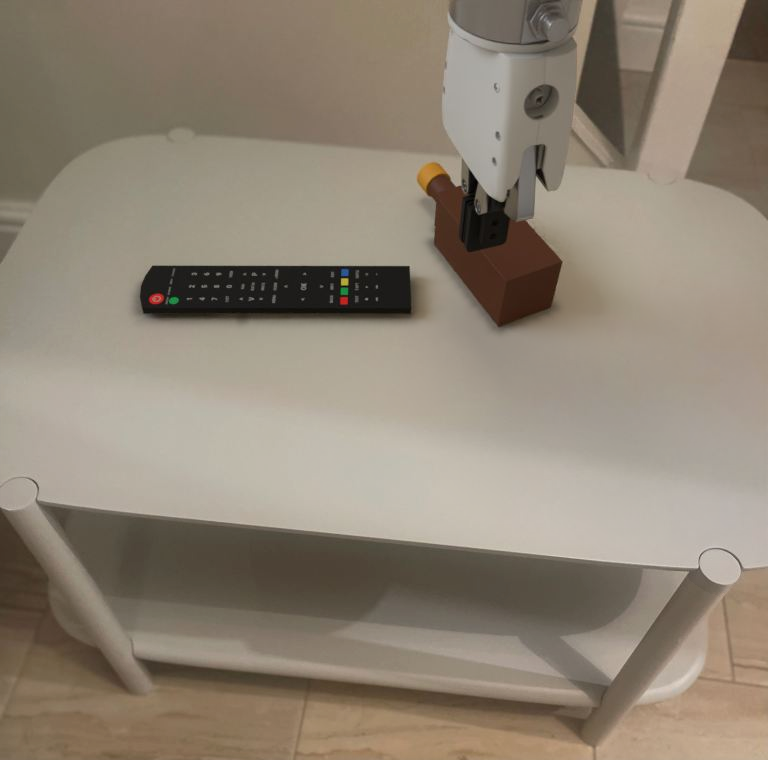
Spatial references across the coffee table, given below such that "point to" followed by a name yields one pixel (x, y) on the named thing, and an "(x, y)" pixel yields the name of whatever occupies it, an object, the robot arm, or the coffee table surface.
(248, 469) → the coffee table surface
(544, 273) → the bottle
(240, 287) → the remote control
